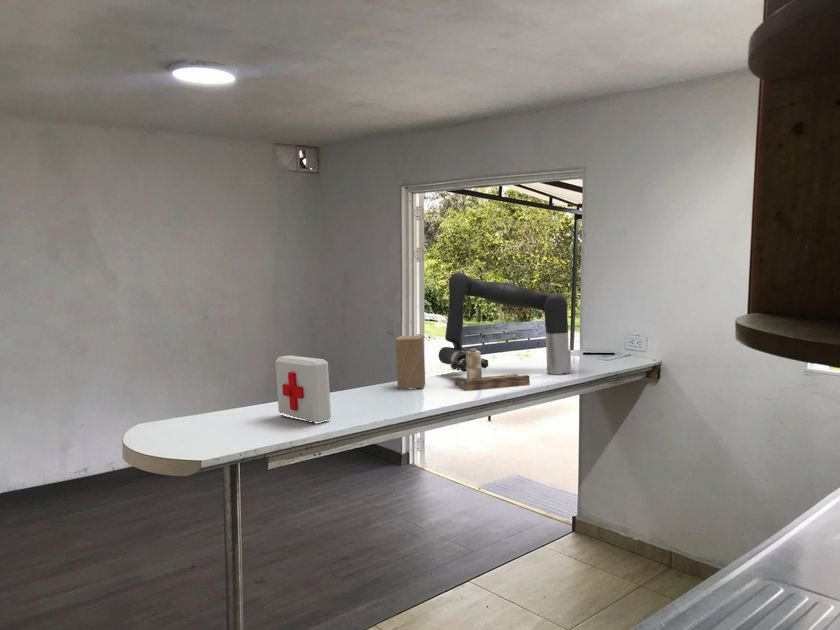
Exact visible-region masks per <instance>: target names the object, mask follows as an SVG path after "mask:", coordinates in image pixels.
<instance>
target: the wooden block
mask: <svg viewBox="0 0 840 630" xmlns="http://www.w3.org/2000/svg"><path fill="white" fill-rule="evenodd" d="M424 349H425V347H424V336H423V335H400V336H398V337H396V338H395V357H396V358H395V359H396V361H395V362H396V376H397V377H396V378H397V379H396V380H397V390H399V389H403V390H410V389H409V388H420V389H419V390H423V389H424V387H425V385H426V371H425V369H426V368H425V350H424Z"/></svg>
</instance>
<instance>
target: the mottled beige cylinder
mask: <svg viewBox="0 0 840 630" xmlns="http://www.w3.org/2000/svg"><path fill="white" fill-rule="evenodd" d="M465 352H466V369H467V371H466V379H467V380H475V379H478V380H479V379H482V367H481V357H482V355H481V354H482V353H481V351H480V350H477V348H470V349H469V350H467V351H465Z"/></svg>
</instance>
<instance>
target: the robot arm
mask: <svg viewBox="0 0 840 630" xmlns="http://www.w3.org/2000/svg"><path fill="white" fill-rule="evenodd" d="M448 291H449V292H448V293H449V294H448V295H449V301H448V302H449V303H448V311H447V312H448V313H447V320H446V321H447V322H446V329H445V341H446V342H449V343H452V344H453V345H454V347H451V346H450V347H449V346H444V347H442V348H440V349H439V352H438V359H439V361H440V362H441V363H442V364H444V365H445V364H446V365H450V368H451V369H453V370H457V369H458V370H460V371H462V372H467V369H466V351H464V350H463V343H462V341H463V339H462V337H463V327H464V302H465V297H466V296H467V297H474V298H480V299H483V300H486V301H489V302H492V303H496V304H499V305H503V306H509V307H514V308H524V309H525V308H526V309H527V308H528V309H535V310H540V311H542V312H544V326H545V345H546V353H545V354H546V373H547V374H548V373H550V374H549V375H564V374H563V373H567V374H569V373H568V372H571V373H572V356H571V355H572V352H571V349H569V348H570V347H569V321H568V305H569V304H568V300H567V298H566V297H565V296H563V294H559V293H550V292H549V293H548V292H541V291H535V290H532V289H529V288H527V287H524V286H521V285H520V286H519V285H516V284H512V283H507V282H499V281H483V280H479V279H476V278H473V277H470V276H468V275H467V274H465V273H464V272H459V271H458V272H455V273H453V274H452V275H451V276H450V277H449V279H448ZM488 367H489V360H488V359H485V358H481V369H482V368H483V369H487V368H488Z"/></svg>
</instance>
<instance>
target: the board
mask: <svg viewBox="0 0 840 630" xmlns="http://www.w3.org/2000/svg"><path fill="white" fill-rule="evenodd" d="M454 385H455V386H456V385H457V387H458V386H459V387H458V388H460V389H462V390H463V389H464V390H463V391H465V392H467V390H469V391H479V390H490V389H499V388H501V389H502V388H510V387H520V386H519V385H523V386H530V385H531V383H530V375H527V374H526V375H525V374H524V375H519V374H517V373H516V374H514V373H513V374H503V375H491V376H490V375H489V376H483V377H482V379H479V380H478V379H475V380H467V378H458V379H454Z"/></svg>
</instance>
